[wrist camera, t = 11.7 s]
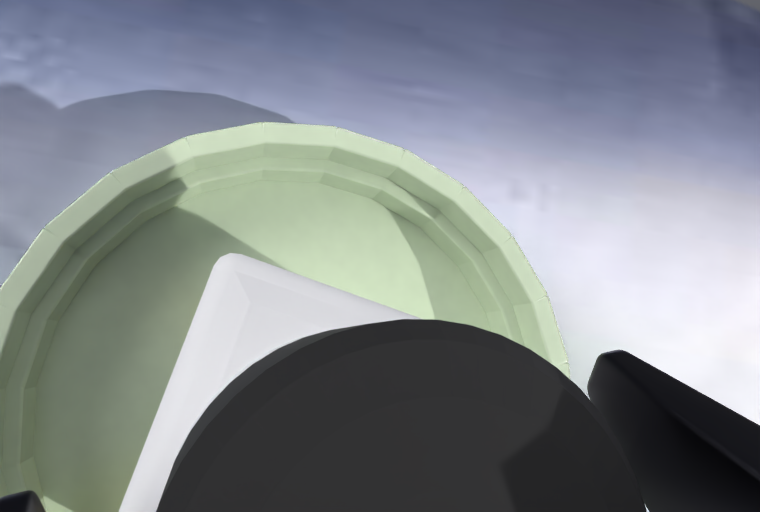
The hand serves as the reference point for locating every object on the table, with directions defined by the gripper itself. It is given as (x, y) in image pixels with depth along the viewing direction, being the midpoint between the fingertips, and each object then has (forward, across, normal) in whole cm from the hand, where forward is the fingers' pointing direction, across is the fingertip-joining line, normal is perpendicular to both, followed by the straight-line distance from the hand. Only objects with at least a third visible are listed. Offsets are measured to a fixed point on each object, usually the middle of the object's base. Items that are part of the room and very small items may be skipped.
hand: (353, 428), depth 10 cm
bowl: (+6, 0, +7) cm, 9 cm away
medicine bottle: (+5, 0, +7) cm, 9 cm away
